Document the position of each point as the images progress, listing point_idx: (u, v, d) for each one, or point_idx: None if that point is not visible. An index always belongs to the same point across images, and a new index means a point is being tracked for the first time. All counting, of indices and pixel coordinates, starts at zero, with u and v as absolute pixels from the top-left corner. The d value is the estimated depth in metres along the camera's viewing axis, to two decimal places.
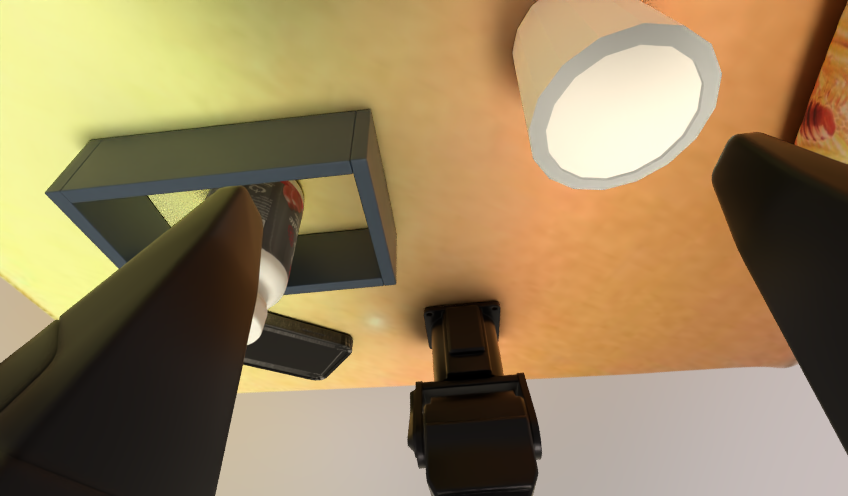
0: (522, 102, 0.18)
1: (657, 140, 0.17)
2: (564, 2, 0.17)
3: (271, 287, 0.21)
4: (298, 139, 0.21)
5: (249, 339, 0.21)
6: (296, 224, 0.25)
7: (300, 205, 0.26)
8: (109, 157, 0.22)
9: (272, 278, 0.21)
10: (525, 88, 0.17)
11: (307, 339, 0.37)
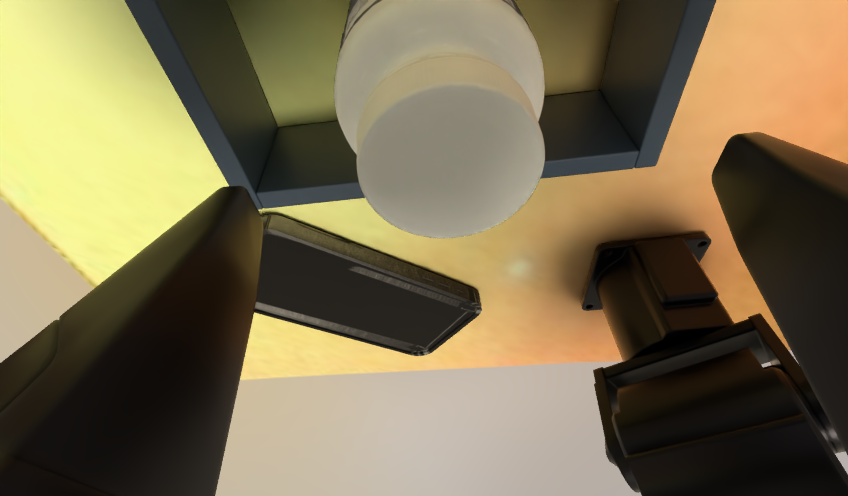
0: None
1: None
2: None
3: None
4: None
5: (498, 214, 0.10)
6: None
7: None
8: None
9: (537, 91, 0.10)
10: None
11: (425, 292, 0.26)
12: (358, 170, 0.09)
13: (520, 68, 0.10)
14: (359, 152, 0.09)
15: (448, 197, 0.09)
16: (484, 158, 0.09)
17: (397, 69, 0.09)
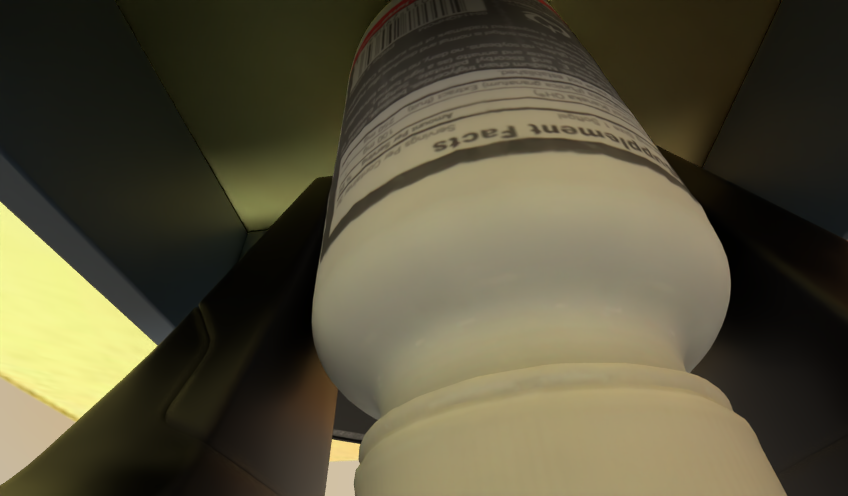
0: None
1: None
2: None
3: (689, 371, 0.05)
4: None
5: None
6: None
7: None
8: None
9: (714, 338, 0.05)
10: None
11: None
12: None
13: (703, 321, 0.05)
14: None
15: None
16: None
17: (457, 397, 0.03)
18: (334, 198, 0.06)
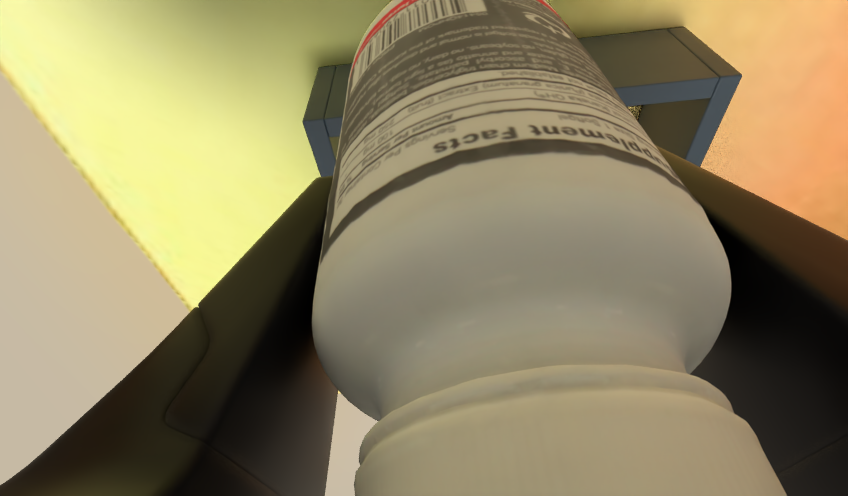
0: None
1: None
2: None
3: (689, 372, 0.05)
4: (617, 58, 0.16)
5: None
6: None
7: None
8: None
9: (715, 339, 0.05)
10: None
11: None
12: None
13: (703, 321, 0.05)
14: None
15: None
16: None
17: (457, 399, 0.03)
18: (334, 199, 0.06)
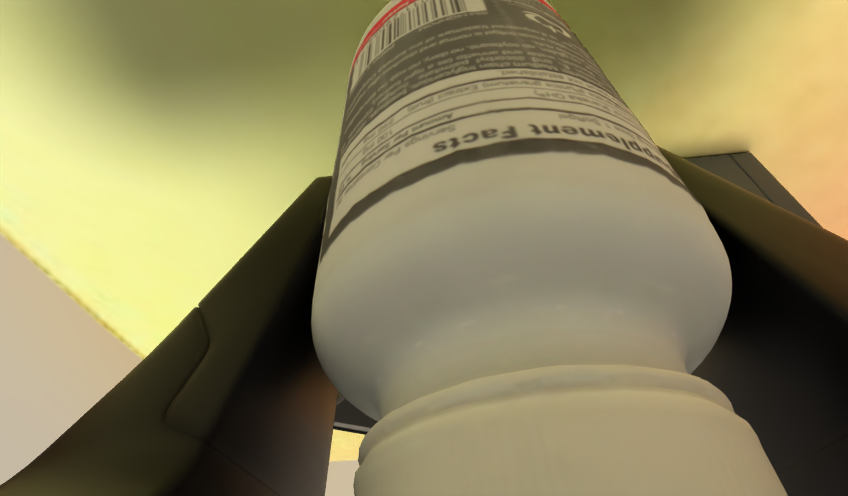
0: None
1: None
2: None
3: (690, 371, 0.05)
4: None
5: None
6: None
7: None
8: None
9: (716, 339, 0.05)
10: None
11: None
12: None
13: (703, 322, 0.04)
14: None
15: None
16: None
17: (457, 398, 0.03)
18: (334, 198, 0.06)
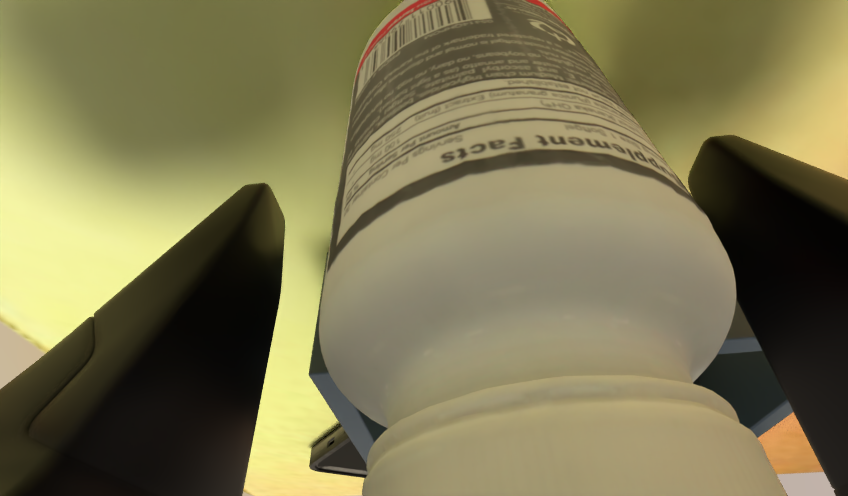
0: None
1: None
2: None
3: (693, 379, 0.05)
4: None
5: None
6: None
7: None
8: None
9: (720, 347, 0.05)
10: None
11: None
12: None
13: (708, 330, 0.05)
14: None
15: None
16: None
17: (466, 410, 0.04)
18: (341, 206, 0.06)
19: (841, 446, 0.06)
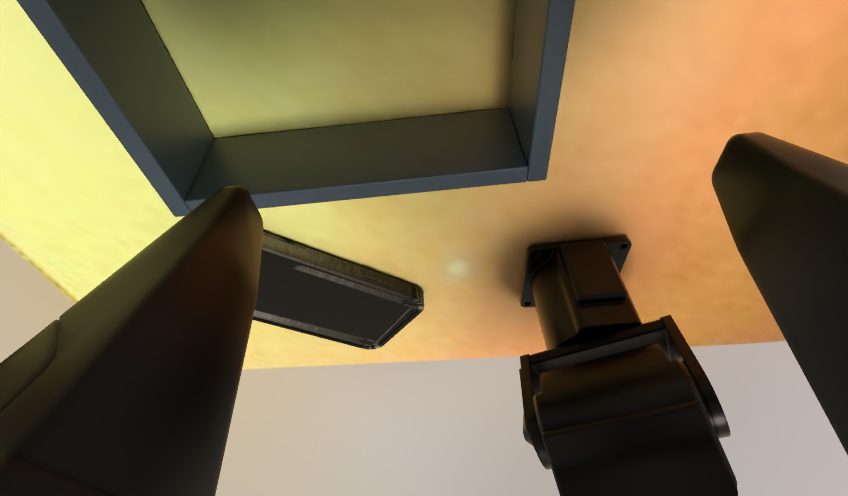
0: None
1: None
2: None
3: None
4: None
5: None
6: None
7: None
8: None
9: None
10: None
11: (369, 290, 0.28)
12: None
13: None
14: None
15: None
16: None
17: None
18: None
19: None
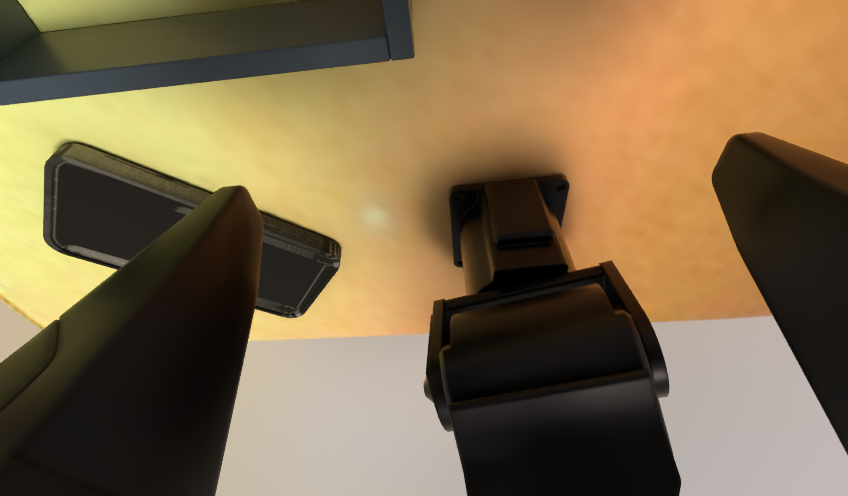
0: None
1: None
2: None
3: None
4: None
5: None
6: None
7: None
8: None
9: None
10: None
11: (271, 241, 0.25)
12: None
13: None
14: None
15: None
16: None
17: None
18: None
19: None
